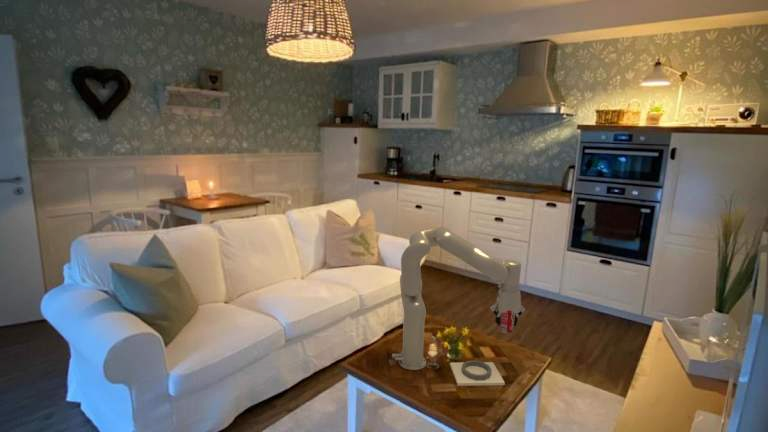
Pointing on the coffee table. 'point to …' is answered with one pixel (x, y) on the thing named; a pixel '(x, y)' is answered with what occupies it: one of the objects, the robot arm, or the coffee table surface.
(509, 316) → the soda can
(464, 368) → the collar board
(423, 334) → the robot arm
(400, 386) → the coffee table surface
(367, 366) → the coffee table surface
